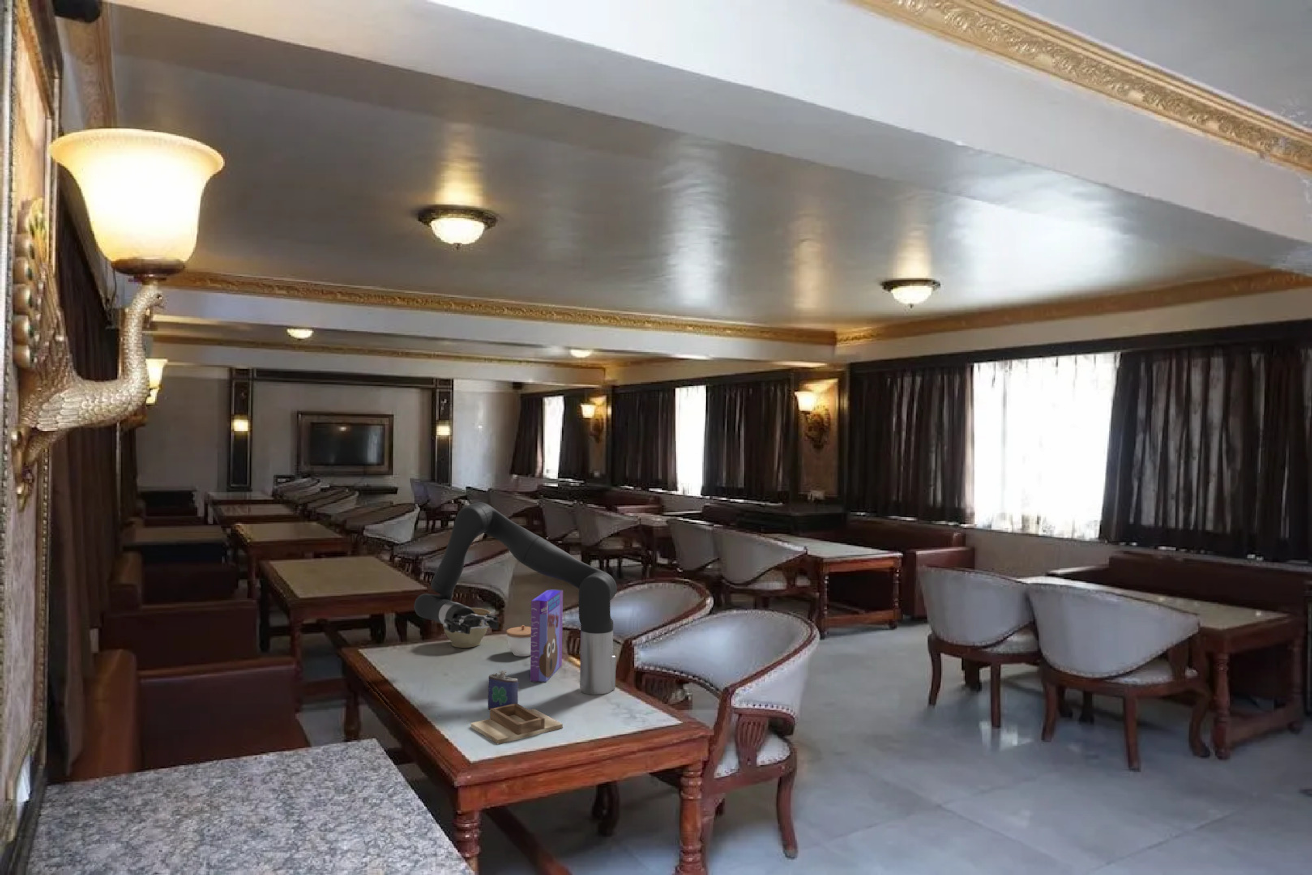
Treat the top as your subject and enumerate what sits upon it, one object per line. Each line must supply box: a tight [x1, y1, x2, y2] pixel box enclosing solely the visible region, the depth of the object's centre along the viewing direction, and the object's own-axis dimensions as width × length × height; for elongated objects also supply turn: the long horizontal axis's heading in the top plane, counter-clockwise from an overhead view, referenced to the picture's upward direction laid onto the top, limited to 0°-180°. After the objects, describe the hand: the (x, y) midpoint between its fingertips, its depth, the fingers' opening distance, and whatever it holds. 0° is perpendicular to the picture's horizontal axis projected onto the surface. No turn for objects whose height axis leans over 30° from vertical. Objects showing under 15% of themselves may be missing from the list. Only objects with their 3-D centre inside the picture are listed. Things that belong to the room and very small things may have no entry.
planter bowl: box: [442, 607, 491, 649], centre depth 291 cm, size 16×16×11 cm
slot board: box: [470, 703, 563, 745], centre depth 213 cm, size 18×14×4 cm
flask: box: [487, 670, 519, 711], centre depth 225 cm, size 9×3×11 cm, turn 63°
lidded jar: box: [506, 624, 531, 657], centre depth 281 cm, size 11×11×9 cm
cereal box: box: [529, 588, 564, 683], centre depth 259 cm, size 17×5×24 cm, turn 171°
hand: (483, 628), depth 234 cm, fingers open, 8 cm apart
